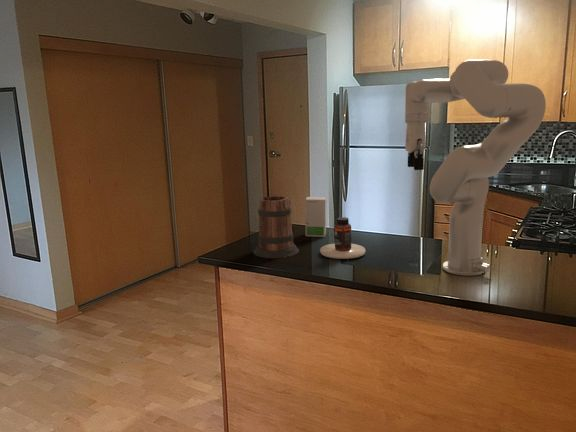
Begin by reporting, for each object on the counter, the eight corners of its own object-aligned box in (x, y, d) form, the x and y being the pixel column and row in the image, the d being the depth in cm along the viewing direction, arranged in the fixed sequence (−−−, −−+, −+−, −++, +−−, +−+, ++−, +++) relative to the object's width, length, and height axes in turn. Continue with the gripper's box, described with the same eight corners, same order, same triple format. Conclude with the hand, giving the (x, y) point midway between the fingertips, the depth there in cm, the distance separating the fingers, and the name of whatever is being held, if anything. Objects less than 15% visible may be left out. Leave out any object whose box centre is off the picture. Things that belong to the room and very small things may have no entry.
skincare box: (305, 236, 192) (304, 199, 189) (307, 232, 198) (306, 196, 195) (325, 237, 191) (325, 199, 187) (327, 233, 197) (326, 196, 194)
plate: (374, 254, 166) (374, 250, 165) (338, 263, 158) (338, 258, 157) (346, 244, 179) (346, 240, 179) (311, 252, 171) (311, 247, 171)
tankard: (288, 260, 163) (286, 203, 159) (245, 255, 170) (242, 201, 165) (311, 242, 184) (310, 191, 180) (272, 238, 191) (270, 190, 186)
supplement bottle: (354, 248, 169) (354, 217, 166) (347, 252, 164) (347, 221, 161) (339, 246, 172) (339, 215, 169) (331, 250, 167) (331, 219, 165)
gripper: (400, 119, 171) (399, 166, 175) (411, 119, 154) (410, 171, 158) (421, 118, 171) (420, 165, 174) (434, 118, 154) (432, 170, 157)
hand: (415, 168), depth 166 cm, fingers open, 9 cm apart
